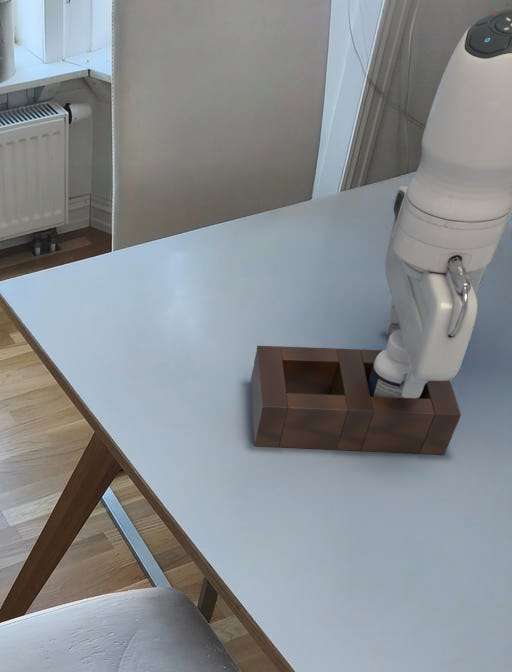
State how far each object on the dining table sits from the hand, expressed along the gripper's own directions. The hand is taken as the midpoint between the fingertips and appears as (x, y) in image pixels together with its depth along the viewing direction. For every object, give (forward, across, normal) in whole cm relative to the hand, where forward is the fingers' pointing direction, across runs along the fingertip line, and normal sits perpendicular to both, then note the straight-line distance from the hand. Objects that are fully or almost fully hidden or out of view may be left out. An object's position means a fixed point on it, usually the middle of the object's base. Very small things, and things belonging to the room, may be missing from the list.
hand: (401, 366), depth 89 cm
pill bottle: (+7, 0, 0) cm, 7 cm away
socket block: (+7, 0, +4) cm, 8 cm away
